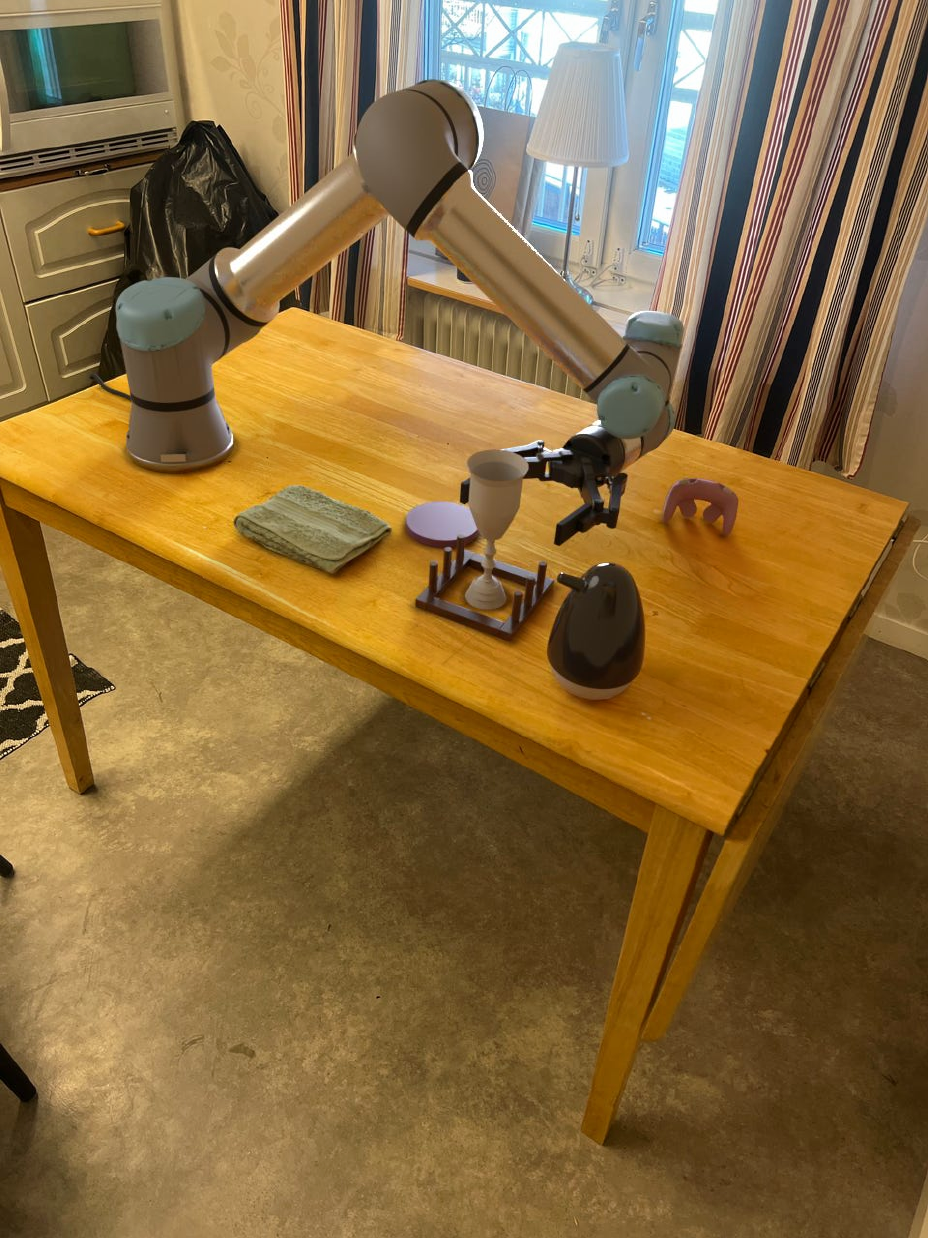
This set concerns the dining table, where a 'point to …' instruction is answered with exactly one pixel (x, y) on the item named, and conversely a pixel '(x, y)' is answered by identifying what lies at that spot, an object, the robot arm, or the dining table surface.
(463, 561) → the drying rack
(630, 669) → the pump dispenser
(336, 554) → the washcloth
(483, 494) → the chalice
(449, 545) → the lid
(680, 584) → the dining table surface
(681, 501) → the video game controller
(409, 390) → the dining table surface
